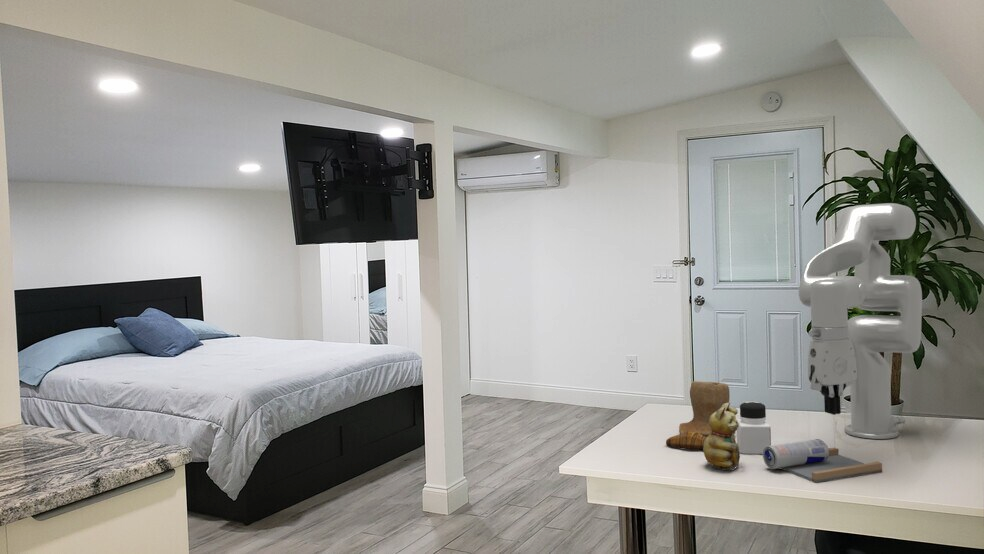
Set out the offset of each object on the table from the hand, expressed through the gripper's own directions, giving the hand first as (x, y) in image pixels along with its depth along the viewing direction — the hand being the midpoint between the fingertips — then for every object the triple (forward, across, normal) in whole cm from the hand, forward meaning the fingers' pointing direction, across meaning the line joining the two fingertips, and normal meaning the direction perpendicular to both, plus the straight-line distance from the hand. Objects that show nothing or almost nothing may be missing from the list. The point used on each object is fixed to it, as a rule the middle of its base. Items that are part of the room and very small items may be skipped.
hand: (832, 412), depth 165 cm
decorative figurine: (+12, -23, +10) cm, 28 cm away
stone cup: (+13, -10, +36) cm, 40 cm away
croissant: (+13, -21, +26) cm, 36 cm away
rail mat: (+12, -3, -1) cm, 13 cm away
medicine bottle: (+13, -8, +18) cm, 24 cm away
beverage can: (+9, 0, +3) cm, 10 cm away
